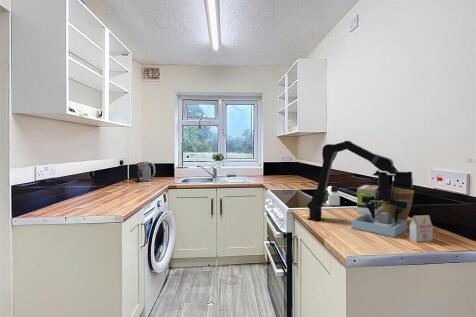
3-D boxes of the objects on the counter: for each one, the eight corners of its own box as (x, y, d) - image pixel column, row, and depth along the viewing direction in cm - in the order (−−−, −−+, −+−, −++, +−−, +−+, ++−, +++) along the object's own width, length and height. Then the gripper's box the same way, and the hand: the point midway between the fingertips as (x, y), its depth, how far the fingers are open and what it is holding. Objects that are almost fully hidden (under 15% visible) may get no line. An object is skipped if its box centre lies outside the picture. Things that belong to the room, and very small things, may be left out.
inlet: (390, 232, 115) (390, 225, 115) (373, 228, 120) (373, 222, 120) (395, 229, 120) (395, 222, 119) (379, 225, 125) (379, 219, 124)
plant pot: (407, 219, 137) (407, 188, 137) (418, 227, 123) (418, 193, 122) (375, 217, 141) (375, 187, 141) (382, 225, 127) (383, 192, 126)
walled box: (394, 238, 110) (394, 228, 109) (351, 228, 123) (351, 220, 123) (406, 229, 120) (406, 220, 120) (365, 221, 134) (366, 213, 134)
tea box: (363, 208, 163) (363, 184, 162) (382, 210, 156) (382, 185, 156) (356, 213, 151) (356, 187, 150) (376, 216, 145) (376, 189, 144)
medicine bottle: (336, 203, 178) (336, 185, 178) (339, 205, 171) (339, 187, 170) (325, 203, 179) (325, 185, 178) (328, 205, 172) (328, 187, 171)
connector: (387, 230, 117) (388, 213, 117) (378, 228, 120) (378, 212, 120) (391, 228, 120) (391, 212, 119) (381, 226, 123) (381, 210, 122)
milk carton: (409, 239, 109) (409, 214, 108) (424, 238, 109) (425, 214, 109) (416, 242, 105) (416, 217, 104) (432, 241, 106) (432, 216, 105)
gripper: (414, 186, 117) (414, 221, 118) (370, 182, 131) (370, 213, 132) (406, 189, 110) (406, 226, 111) (361, 184, 124) (360, 217, 125)
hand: (384, 220), depth 120 cm, fingers open, 9 cm apart
